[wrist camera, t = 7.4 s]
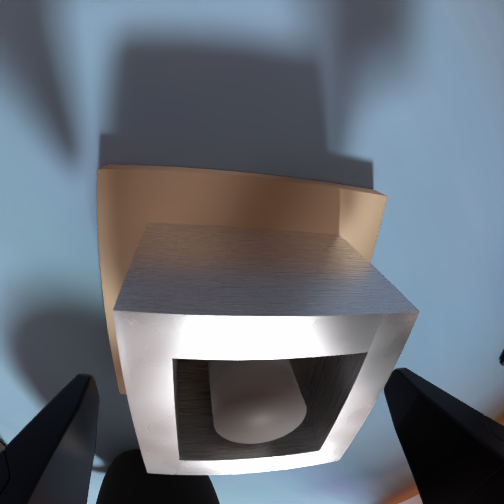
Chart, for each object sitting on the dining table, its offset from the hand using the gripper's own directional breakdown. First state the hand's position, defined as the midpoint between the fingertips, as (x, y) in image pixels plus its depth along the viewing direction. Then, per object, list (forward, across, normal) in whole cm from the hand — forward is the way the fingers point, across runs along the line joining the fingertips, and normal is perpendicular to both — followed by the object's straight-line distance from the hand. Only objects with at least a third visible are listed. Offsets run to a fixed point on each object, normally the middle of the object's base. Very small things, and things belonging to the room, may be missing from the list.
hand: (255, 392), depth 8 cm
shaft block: (+5, 0, 0) cm, 5 cm away
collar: (+4, 0, 0) cm, 4 cm away
